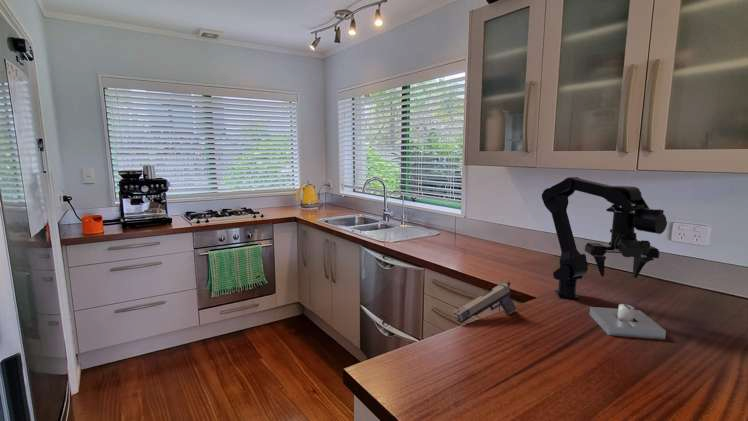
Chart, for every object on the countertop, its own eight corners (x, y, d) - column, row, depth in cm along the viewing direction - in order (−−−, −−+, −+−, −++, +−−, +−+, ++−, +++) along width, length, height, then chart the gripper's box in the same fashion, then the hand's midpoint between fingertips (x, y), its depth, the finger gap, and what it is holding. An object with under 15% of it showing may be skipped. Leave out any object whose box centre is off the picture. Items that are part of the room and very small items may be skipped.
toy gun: (461, 338, 115) (452, 311, 113) (513, 305, 121) (506, 279, 119) (465, 342, 113) (456, 314, 110) (518, 308, 119) (511, 281, 116)
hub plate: (589, 314, 118) (590, 306, 118) (638, 317, 116) (639, 309, 115) (608, 335, 104) (609, 325, 104) (665, 339, 102) (666, 330, 102)
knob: (614, 322, 112) (616, 302, 111) (628, 323, 111) (630, 303, 111) (620, 328, 108) (622, 307, 108) (634, 329, 108) (637, 308, 107)
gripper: (600, 231, 108) (595, 283, 111) (673, 234, 105) (667, 287, 107) (586, 224, 119) (582, 272, 121) (651, 227, 116) (646, 275, 118)
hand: (618, 277), depth 117 cm, fingers open, 9 cm apart
